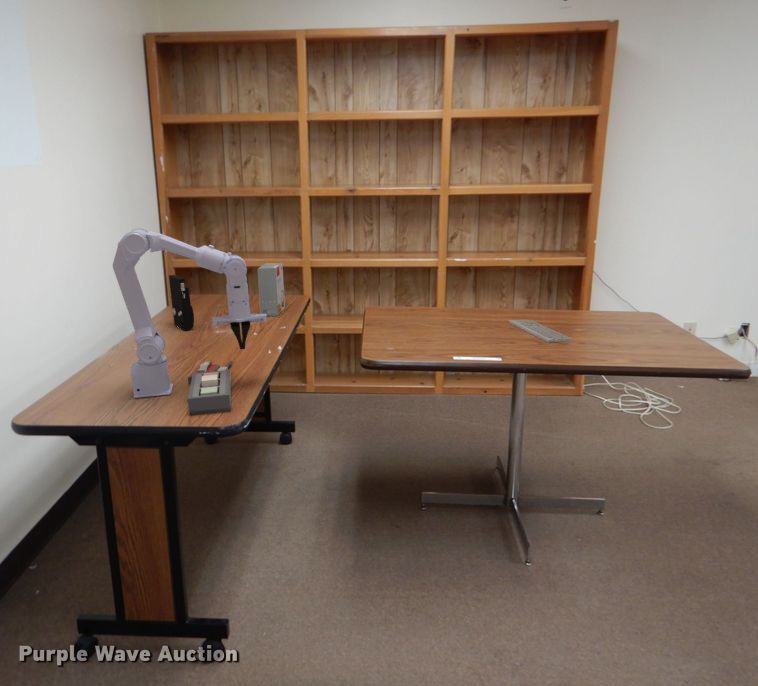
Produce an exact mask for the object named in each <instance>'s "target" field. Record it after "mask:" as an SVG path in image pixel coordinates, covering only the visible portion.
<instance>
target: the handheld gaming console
mask: <svg viewBox="0 0 758 686" xmlns="http://www.w3.org/2000/svg"><path fill="white" fill-rule="evenodd" d="M168 281H169V287H170V289H169V290H170V297H171V298H170V299H171V307H172V308H171V309H172V310H171V311H172V317H173V323H174V324H173V325H174V326H175V327H177V326H178V327H179V328H178V327H177V328H178V329H180V328H181V329H180V330H182V329H183V330H182V331H191V330H192V329H193V327H194V325H195V324H194V323H195V313H194V308H193V306H192V305H191V304H192V302H191V297H190V296H191V294H190V287H186V282H185V281H186V280H185V278H183V277H181V276H178V275H175V274H169V275H168Z"/></svg>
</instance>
